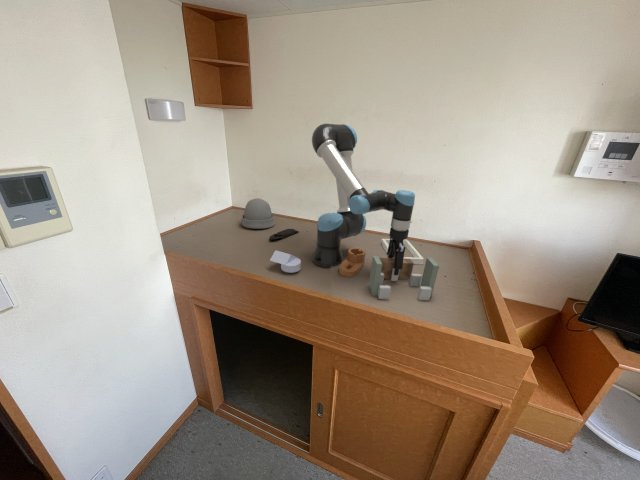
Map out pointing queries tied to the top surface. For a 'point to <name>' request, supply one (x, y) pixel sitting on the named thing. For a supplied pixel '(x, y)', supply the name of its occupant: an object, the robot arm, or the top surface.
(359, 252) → the bracket
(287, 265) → the wedge on round base
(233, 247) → the top surface
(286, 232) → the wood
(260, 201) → the beanie hat
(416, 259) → the frame
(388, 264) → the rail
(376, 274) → the green fixture with posts
